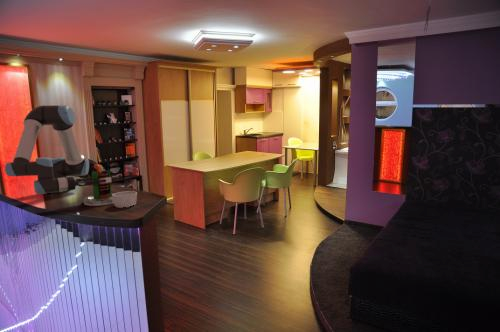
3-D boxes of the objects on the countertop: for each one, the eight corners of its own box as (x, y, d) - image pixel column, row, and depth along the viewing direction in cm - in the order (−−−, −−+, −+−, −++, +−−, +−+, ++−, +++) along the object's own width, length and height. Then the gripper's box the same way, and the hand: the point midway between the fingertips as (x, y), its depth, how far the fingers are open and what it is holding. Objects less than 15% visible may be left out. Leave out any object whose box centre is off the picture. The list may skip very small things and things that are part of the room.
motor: (103, 199, 197) (100, 165, 195) (89, 199, 199) (86, 165, 197) (113, 196, 207) (111, 163, 205) (100, 196, 209) (97, 163, 207)
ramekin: (111, 209, 186) (110, 197, 185) (114, 203, 198) (113, 192, 197) (137, 207, 189) (136, 195, 188) (138, 201, 202) (137, 190, 201)
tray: (80, 201, 205) (80, 196, 205) (114, 196, 217) (114, 192, 217) (88, 208, 189) (87, 203, 189) (124, 202, 201) (124, 197, 201)
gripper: (64, 187, 199) (105, 182, 213) (70, 193, 183) (114, 187, 197) (63, 175, 198) (104, 170, 211) (69, 179, 182) (113, 174, 196)
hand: (109, 178), depth 204 cm, fingers closed on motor, 7 cm apart
